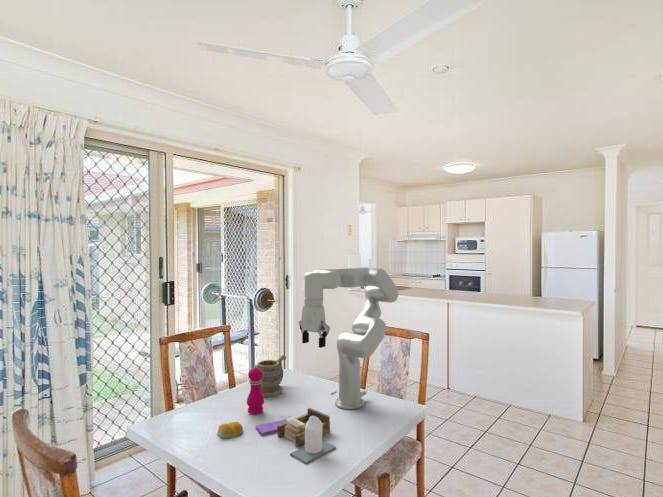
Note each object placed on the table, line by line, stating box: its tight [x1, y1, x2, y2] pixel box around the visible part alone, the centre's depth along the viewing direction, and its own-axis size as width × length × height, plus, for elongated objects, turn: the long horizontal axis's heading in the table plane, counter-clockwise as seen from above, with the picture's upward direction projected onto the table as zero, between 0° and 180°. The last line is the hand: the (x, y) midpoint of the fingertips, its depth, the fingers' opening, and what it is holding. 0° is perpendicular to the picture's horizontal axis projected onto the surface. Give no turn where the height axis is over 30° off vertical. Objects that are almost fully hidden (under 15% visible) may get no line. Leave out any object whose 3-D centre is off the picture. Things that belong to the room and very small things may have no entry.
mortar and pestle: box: [256, 354, 287, 398], centre depth 193 cm, size 20×13×15 cm, turn 147°
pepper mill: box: [246, 364, 265, 416], centre depth 168 cm, size 7×7×20 cm
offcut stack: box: [284, 418, 305, 443], centre depth 145 cm, size 5×8×6 cm, turn 46°
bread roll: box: [217, 421, 244, 439], centre depth 149 cm, size 8×9×4 cm
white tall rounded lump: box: [304, 416, 323, 453], centre depth 136 cm, size 6×12×6 cm
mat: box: [289, 439, 337, 465], centre depth 136 cm, size 14×8×1 cm, turn 136°
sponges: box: [255, 418, 288, 437], centre depth 152 cm, size 7×13×2 cm, turn 117°
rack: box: [276, 407, 331, 448], centre depth 148 cm, size 16×11×6 cm
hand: (313, 344), depth 160 cm, fingers open, 9 cm apart
